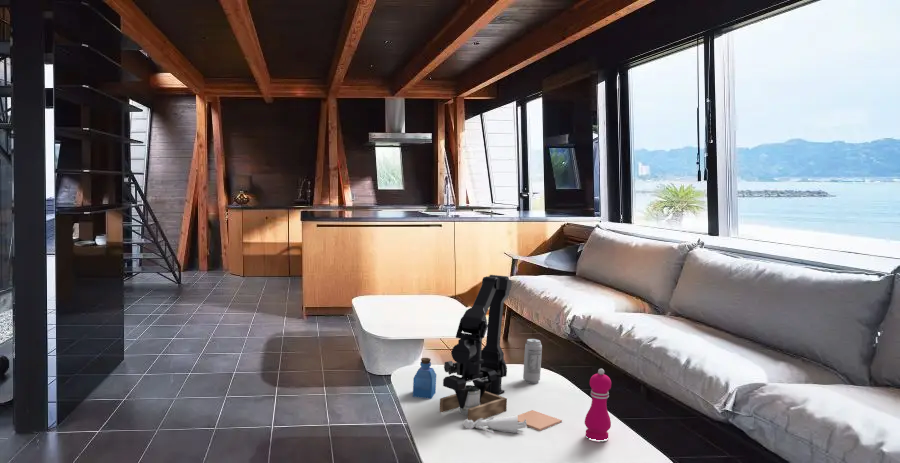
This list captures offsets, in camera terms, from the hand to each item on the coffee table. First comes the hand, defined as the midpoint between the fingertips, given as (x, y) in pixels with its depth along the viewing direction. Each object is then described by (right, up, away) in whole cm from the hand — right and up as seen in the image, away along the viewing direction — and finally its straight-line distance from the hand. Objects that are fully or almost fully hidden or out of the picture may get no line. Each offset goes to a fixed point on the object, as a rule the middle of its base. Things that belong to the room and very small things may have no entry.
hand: (469, 405), depth 199 cm
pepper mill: (+36, -5, -15) cm, 39 cm away
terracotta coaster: (+20, -3, -4) cm, 21 cm away
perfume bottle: (-14, -1, +15) cm, 21 cm away
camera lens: (0, -2, 0) cm, 2 cm away
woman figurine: (+7, -4, -12) cm, 14 cm away
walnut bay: (+1, -2, +1) cm, 3 cm away
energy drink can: (+23, -1, +35) cm, 43 cm away
